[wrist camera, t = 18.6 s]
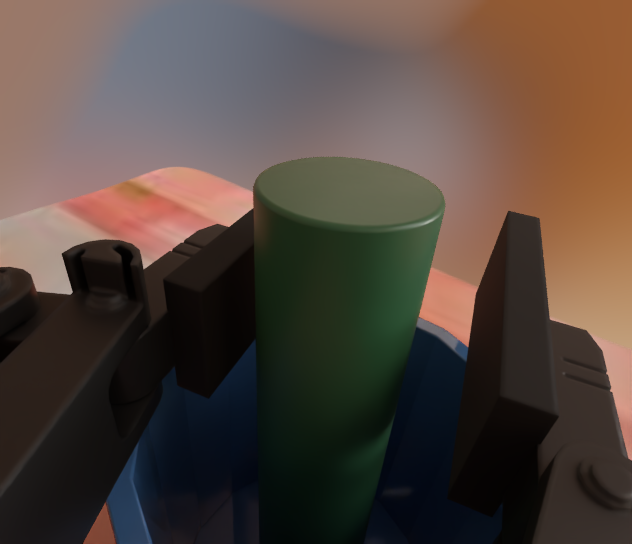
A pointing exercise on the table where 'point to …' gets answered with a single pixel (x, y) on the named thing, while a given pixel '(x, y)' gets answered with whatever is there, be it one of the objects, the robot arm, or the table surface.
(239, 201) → the table surface
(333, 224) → the stick
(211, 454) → the tumbler
